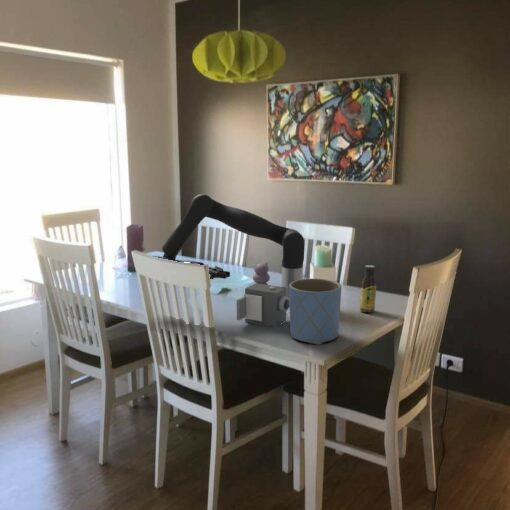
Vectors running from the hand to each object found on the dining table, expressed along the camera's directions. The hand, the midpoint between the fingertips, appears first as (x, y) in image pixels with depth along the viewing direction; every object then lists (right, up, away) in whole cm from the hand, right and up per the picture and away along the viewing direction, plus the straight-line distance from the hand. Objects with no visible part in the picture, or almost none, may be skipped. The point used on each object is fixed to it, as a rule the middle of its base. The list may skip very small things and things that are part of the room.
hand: (227, 275), depth 217 cm
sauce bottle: (+59, -16, +19) cm, 64 cm away
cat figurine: (+14, -8, +58) cm, 60 cm away
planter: (+33, -23, -10) cm, 41 cm away
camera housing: (+16, -19, +6) cm, 26 cm away
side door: (+9, -18, +1) cm, 20 cm away
